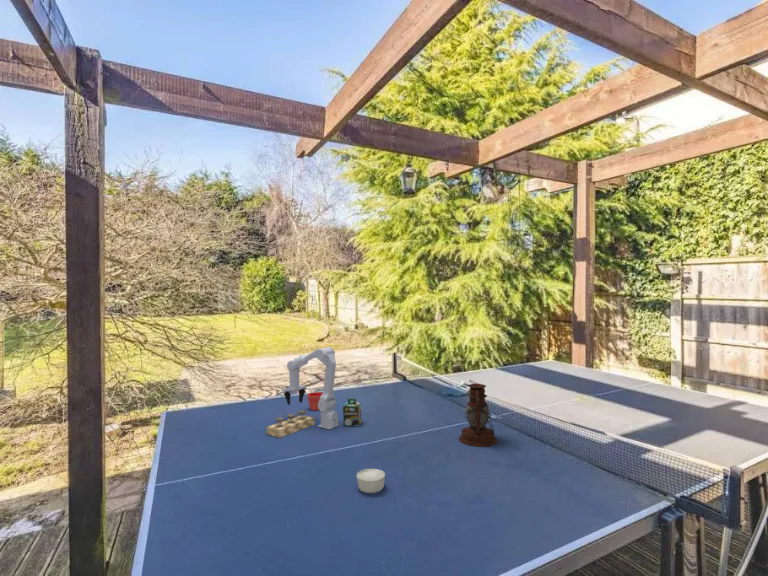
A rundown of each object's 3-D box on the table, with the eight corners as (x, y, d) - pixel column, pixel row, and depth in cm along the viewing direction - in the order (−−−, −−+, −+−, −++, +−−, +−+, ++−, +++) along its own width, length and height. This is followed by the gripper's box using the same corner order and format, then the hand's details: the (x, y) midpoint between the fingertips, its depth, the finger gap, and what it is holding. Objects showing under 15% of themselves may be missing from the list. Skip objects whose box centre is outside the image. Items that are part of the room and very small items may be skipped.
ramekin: (369, 479, 173) (369, 465, 173) (391, 486, 165) (391, 473, 165) (350, 489, 164) (350, 475, 164) (372, 497, 157) (372, 483, 157)
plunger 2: (297, 423, 237) (296, 414, 237) (291, 425, 233) (291, 416, 233) (291, 421, 239) (291, 412, 239) (285, 423, 236) (285, 414, 236)
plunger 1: (286, 426, 230) (285, 417, 230) (279, 429, 227) (279, 419, 227) (280, 425, 233) (280, 416, 233) (274, 427, 229) (274, 418, 229)
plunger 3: (307, 419, 243) (307, 410, 243) (301, 421, 240) (301, 412, 240) (302, 418, 246) (301, 409, 246) (296, 420, 242) (296, 411, 242)
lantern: (498, 448, 204) (497, 385, 204) (458, 445, 207) (457, 383, 208) (496, 434, 222) (495, 377, 222) (459, 432, 226) (458, 376, 226)
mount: (302, 421, 250) (302, 414, 250) (314, 424, 244) (314, 417, 244) (266, 434, 228) (266, 426, 229) (279, 437, 223) (279, 430, 223)
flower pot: (323, 411, 271) (323, 396, 271) (306, 411, 271) (305, 396, 271) (325, 406, 282) (325, 392, 282) (309, 407, 282) (309, 392, 282)
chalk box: (361, 421, 248) (361, 396, 249) (359, 426, 239) (358, 400, 239) (346, 421, 249) (345, 395, 249) (343, 426, 240) (342, 400, 240)
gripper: (302, 377, 262) (302, 399, 262) (280, 381, 253) (280, 404, 253) (307, 379, 256) (308, 402, 256) (285, 382, 247) (285, 406, 247)
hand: (294, 403), depth 254 cm, fingers open, 7 cm apart
